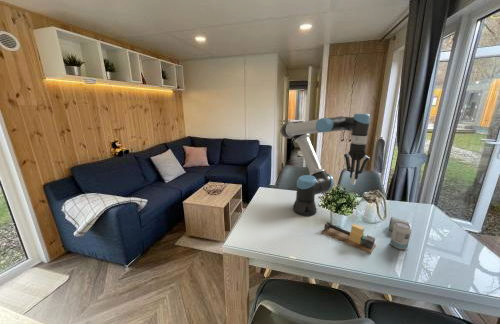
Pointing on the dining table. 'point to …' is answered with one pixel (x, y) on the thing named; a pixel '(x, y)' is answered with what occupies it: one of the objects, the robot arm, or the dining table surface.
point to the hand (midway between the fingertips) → (353, 183)
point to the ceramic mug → (394, 220)
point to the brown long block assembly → (343, 235)
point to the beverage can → (400, 235)
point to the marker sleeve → (356, 233)
